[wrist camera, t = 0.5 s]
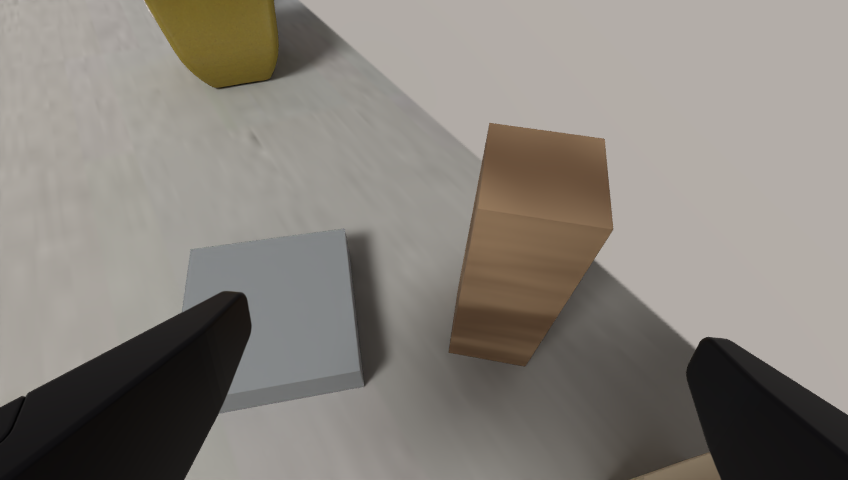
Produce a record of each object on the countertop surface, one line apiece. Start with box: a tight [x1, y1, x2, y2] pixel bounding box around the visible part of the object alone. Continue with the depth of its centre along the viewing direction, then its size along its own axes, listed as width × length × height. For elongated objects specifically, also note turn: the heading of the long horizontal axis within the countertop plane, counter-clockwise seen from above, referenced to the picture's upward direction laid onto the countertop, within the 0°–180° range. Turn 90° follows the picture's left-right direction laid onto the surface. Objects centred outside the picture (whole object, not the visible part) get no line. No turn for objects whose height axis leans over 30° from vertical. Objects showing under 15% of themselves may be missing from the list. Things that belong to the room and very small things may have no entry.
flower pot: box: [144, 0, 279, 88], centre depth 36 cm, size 9×9×9 cm
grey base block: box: [182, 229, 364, 413], centre depth 25 cm, size 9×9×3 cm
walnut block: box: [449, 123, 613, 366], centre depth 21 cm, size 4×4×13 cm
